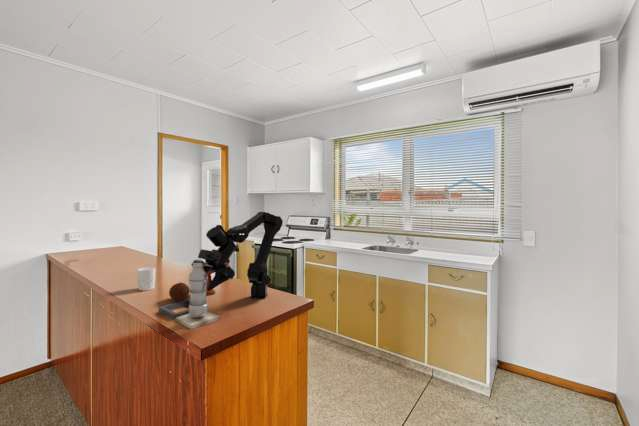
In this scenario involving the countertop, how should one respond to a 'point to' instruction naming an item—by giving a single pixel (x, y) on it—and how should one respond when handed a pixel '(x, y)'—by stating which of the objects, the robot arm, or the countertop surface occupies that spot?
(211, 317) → the board
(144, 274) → the white cup
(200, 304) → the plastic bottle
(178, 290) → the potato
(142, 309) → the countertop surface
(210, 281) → the toy drill
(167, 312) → the collar
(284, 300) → the countertop surface
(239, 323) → the countertop surface
